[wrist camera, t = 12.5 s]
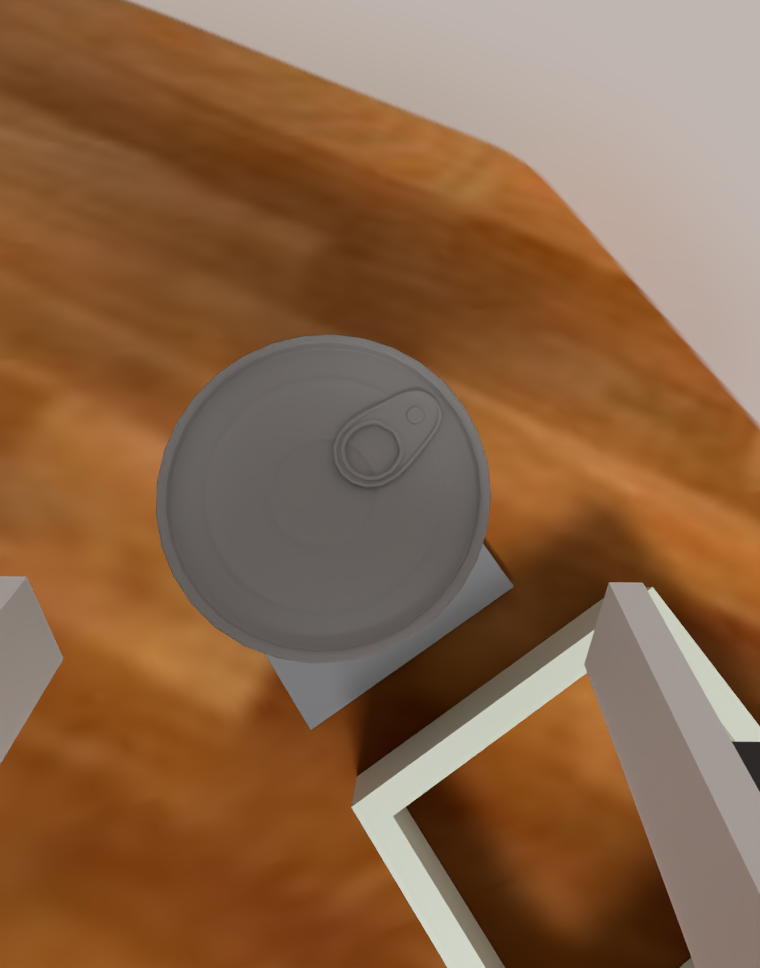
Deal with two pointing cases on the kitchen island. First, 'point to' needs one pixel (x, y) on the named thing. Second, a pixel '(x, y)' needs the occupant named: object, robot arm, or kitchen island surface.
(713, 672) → the caddy
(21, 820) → the kitchen island surface
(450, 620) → the slate coaster
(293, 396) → the canned tomato
